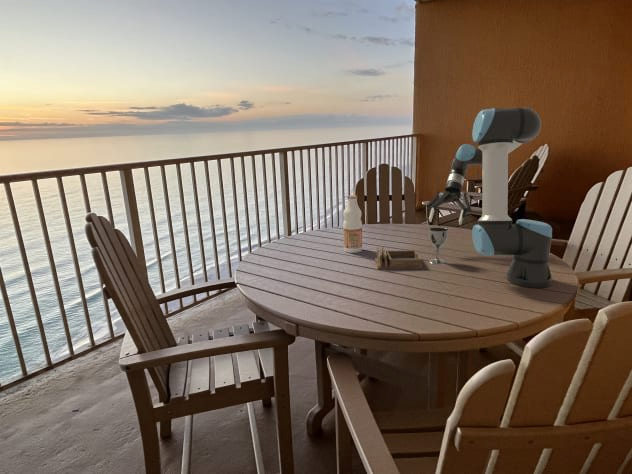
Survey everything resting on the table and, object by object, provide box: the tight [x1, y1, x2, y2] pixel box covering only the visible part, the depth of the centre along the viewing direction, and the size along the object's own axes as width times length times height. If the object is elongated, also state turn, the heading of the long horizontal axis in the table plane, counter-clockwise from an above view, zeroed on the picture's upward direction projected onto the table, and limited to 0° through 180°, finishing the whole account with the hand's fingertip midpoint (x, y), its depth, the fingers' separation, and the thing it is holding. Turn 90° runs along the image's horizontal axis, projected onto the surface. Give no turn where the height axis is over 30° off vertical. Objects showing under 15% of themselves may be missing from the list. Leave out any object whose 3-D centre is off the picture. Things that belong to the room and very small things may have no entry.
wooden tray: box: [374, 246, 423, 270], centre depth 169 cm, size 14×19×6 cm
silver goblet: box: [428, 226, 449, 265], centre depth 169 cm, size 8×8×15 cm
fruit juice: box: [342, 194, 363, 254], centre depth 189 cm, size 9×9×28 cm
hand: (444, 221), depth 175 cm, fingers open, 13 cm apart
